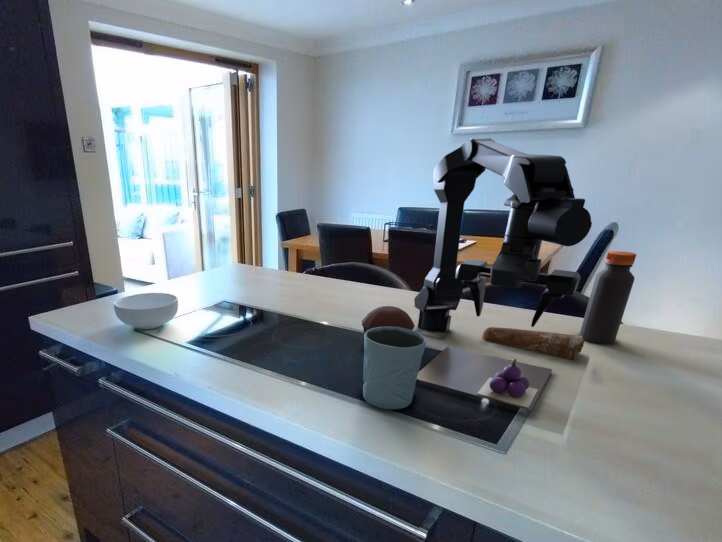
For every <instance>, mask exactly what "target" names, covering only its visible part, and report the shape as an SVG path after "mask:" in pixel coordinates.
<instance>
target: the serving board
mask: <svg viewBox="0 0 722 542" xmlns="http://www.w3.org/2000/svg"><path fill="white" fill-rule="evenodd" d="M508 365H512V360H511V359H506V358H502V357H497V356H493V355H489V354H484V353H480V352H475V351H470V350H465V349H461V348H456V347H452V346H446V347H445V348H444V349H443V350H442V351H441V352H440V353H439V354H437V355H436V356H435V357H433V359H432V360H430V362H429V363H427V364H426V365H425V366H424V367H423V368H421V370H419V371H418V375H417V381H421V382H424V383H428V384H432V385H434V386H435V385H436V386H439V387H443V388H446V389H450V390H454V391H457V392H461V393H465V394H469V395H472V396H476V397H479V398H483V399H486V400H490V401H494V402H498V403H501V404H505V405H508V406H513V407H516V408H520V409H524V410H527V411H532V410H533V408H534V406H535V404H536V402H537V400H538V398H539V397H540V394H541V393H542V390H543V388H544V386H545V385H546V383H547V381H548V379H549V377H550V375H551V373H552V371H553V369H552V368H547V367H544V366H543V367H542V366H538V365H534V364H529V363H524V362H522V361H521V362H520V361H516V365H515V366H517V367H518V368H519V369H520V370H521V376H524V377H526V378H527V379H528V381H529V387H528V389H526V392H525V394H524V395H523V396H522V397H519V398H515V397H512V396H510V395H509V394H508V392H507V389H506V390H505V391H504V392H502V393H496V392H494V391H492V390H491V388H490V385H489V384H490V381H491V380H492V379H493V378H494V376H495V374H496V373H498V372H503V369H504V368H505V367H506V366H508Z"/></svg>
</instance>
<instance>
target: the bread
mask: <svg viewBox="0 0 722 542" xmlns="http://www.w3.org/2000/svg"><path fill="white" fill-rule="evenodd" d="M482 339H483V340H484V341H487V342H492V343H496V344H501V345H505V346H509V347H514V348H519V349H523V350H528V351H531V352H537V353H540V354H541V353H542V354H546V355H550V356H555V357H558V358H562V359H567V360H573V361H576V360H577V358H578V354H580V353H581V352H582V350H583V347H584V346H585V345H584V344H585V340H584V337H583V336H580V335H576V334H567V333H559V332H550V331H541V330H533V329H532V330H531V329H520V328H510V327H497V326H488V327H487V328H485V330H484V331H483V333H482Z"/></svg>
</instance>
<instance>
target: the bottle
mask: <svg viewBox="0 0 722 542" xmlns="http://www.w3.org/2000/svg"><path fill="white" fill-rule="evenodd" d="M636 258H637V254H636V252H630V251H621V250H612V251H607V254H606V258H605V262H604V265H605V267H604V269H602V270H601V271H598V273H596V274H595V276H594V277H595V278H594V281H593V285H592V289H591V292H590V296H589V298H588V303H587V306H586V309H585V313H584V317H583V320H582V324H581V328H580V331H579V336H583V337H584V341H586V342H589V343H595V344H602V345H603V344H604V345H609V344H612V343H614V342H615V341H616V339H617V336H618V333H619V330H620V326H621V323H622V321H623V317H624V314H625V311H626V307H627V304H628V301H629V298H630V295H631V292H632V289H633V285H634V282H635V276H634V274H633V273H632V272H631V268H632V267H633V266H634V264H635V261H636Z"/></svg>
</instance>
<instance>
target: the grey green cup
mask: <svg viewBox="0 0 722 542" xmlns="http://www.w3.org/2000/svg"><path fill="white" fill-rule="evenodd" d="M363 339H364V340H363V354H364V356H363V369H362V370H363V374H362V375H363V378H362V379H363V385H362V396H363V399H364V400H365V402H367V404H369V405H371V406H374V407H376V408H379V409H384V410H401V409H405V408H407V407H409V406H410V405H411V403H412V401H413V398H414V393H415V389H416V384H417V381H418V380H417V375H418V372H420V368H421V363H422V362H423V361H422V357H423V356H424V352H425V349H426V345H427V338H426V336H424V335H423V334H422V333H420V332H418V331H415V330H414V329H413V330H410V329H405V328H400V327H376V328H372V329H369V330H367V331H366V332H365V334H364V333H363Z"/></svg>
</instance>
